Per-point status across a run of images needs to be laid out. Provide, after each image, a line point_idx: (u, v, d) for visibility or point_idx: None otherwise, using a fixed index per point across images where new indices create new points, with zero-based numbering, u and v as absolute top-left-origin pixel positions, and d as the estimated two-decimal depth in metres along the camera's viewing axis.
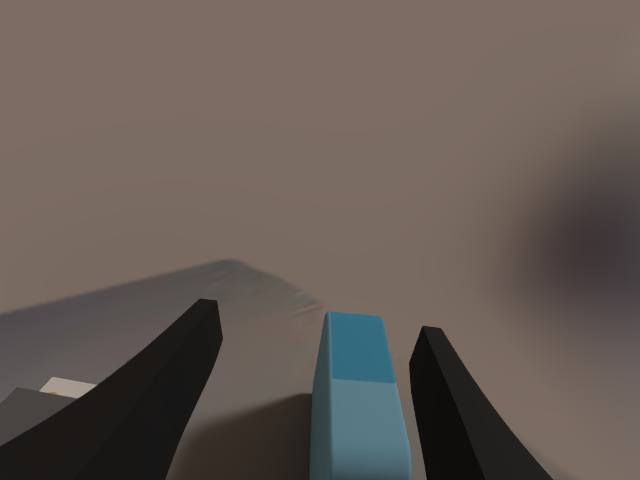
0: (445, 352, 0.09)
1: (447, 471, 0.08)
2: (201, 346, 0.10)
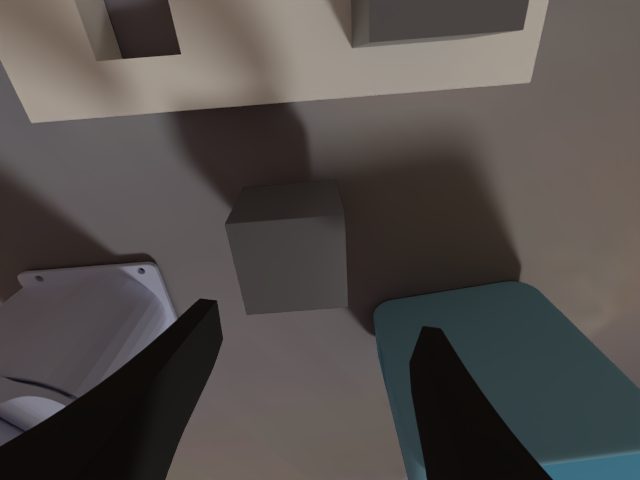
0: (445, 352, 0.09)
1: (448, 471, 0.08)
2: (201, 347, 0.10)
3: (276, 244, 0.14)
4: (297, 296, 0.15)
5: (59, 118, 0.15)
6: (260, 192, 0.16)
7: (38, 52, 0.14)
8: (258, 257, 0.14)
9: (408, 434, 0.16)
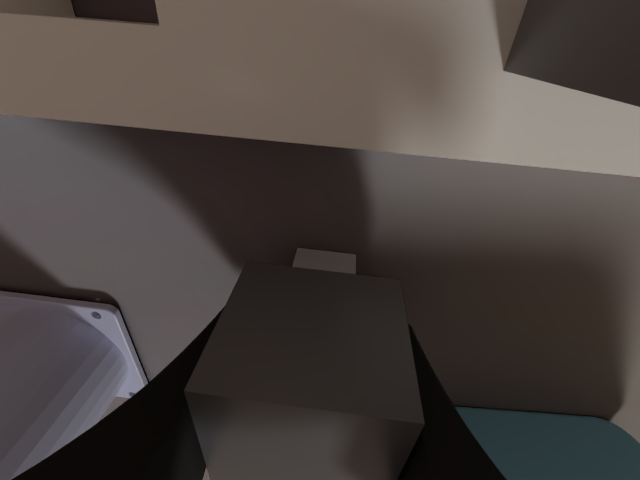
0: None
1: (406, 465, 0.08)
2: None
3: (278, 431, 0.07)
4: None
5: None
6: (271, 286, 0.09)
7: None
8: (241, 438, 0.08)
9: None
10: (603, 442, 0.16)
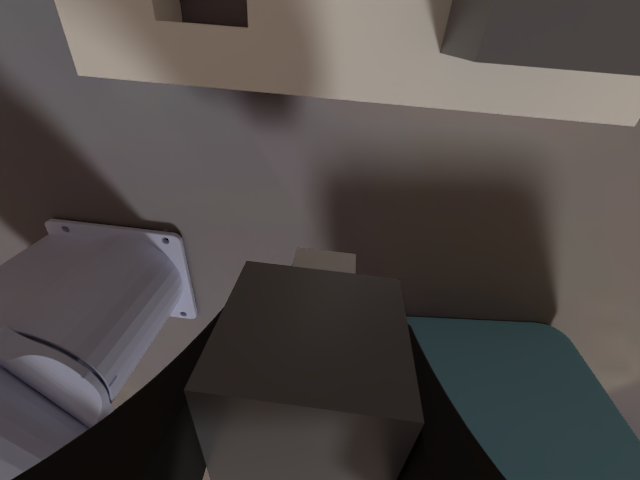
0: None
1: (405, 465, 0.08)
2: None
3: (277, 430, 0.07)
4: None
5: (107, 75, 0.14)
6: (270, 286, 0.09)
7: (95, 0, 0.13)
8: (241, 437, 0.08)
9: None
10: (541, 336, 0.21)
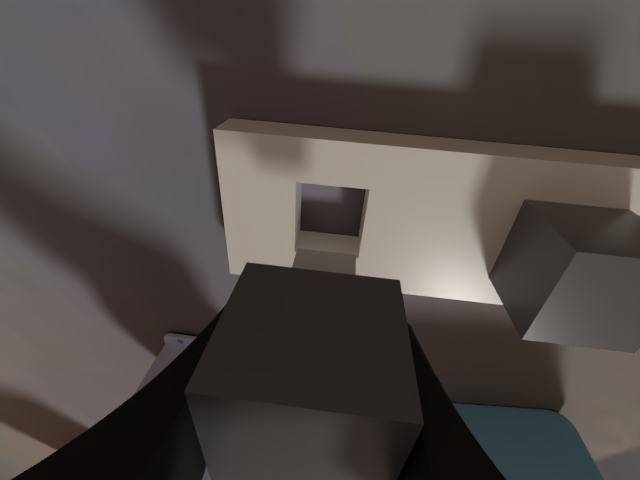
0: None
1: (406, 465, 0.08)
2: None
3: (278, 432, 0.07)
4: None
5: None
6: (270, 287, 0.09)
7: (255, 240, 0.19)
8: (242, 439, 0.08)
9: None
10: (552, 424, 0.27)
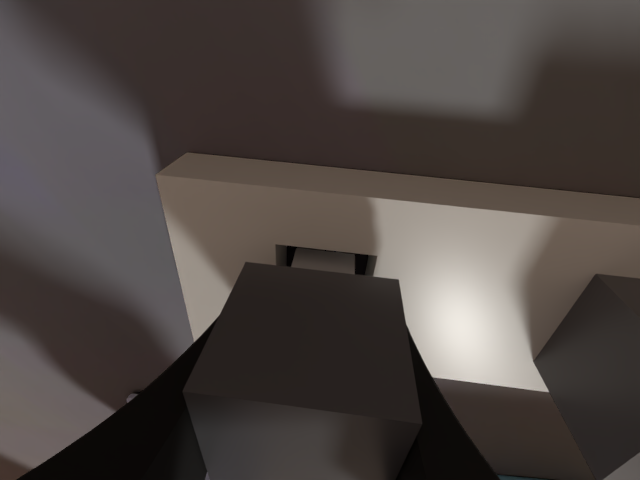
0: None
1: None
2: None
3: (276, 431, 0.07)
4: None
5: None
6: (269, 286, 0.09)
7: None
8: (240, 438, 0.08)
9: None
10: None
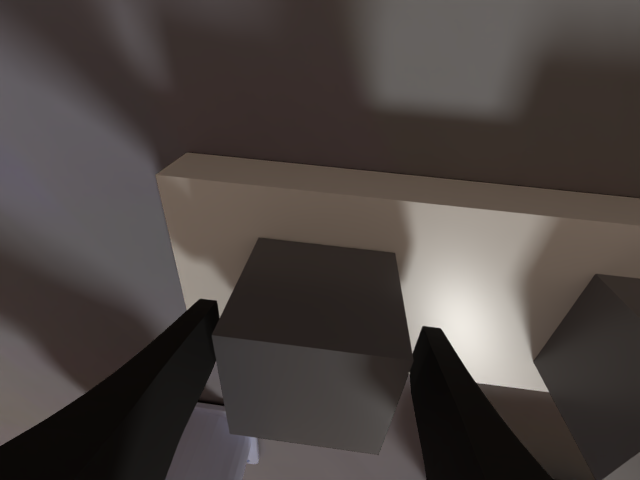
0: (445, 352, 0.09)
1: (448, 471, 0.08)
2: (202, 346, 0.10)
3: (289, 372, 0.08)
4: (307, 431, 0.10)
5: None
6: (281, 257, 0.11)
7: None
8: (258, 381, 0.09)
9: None
10: None
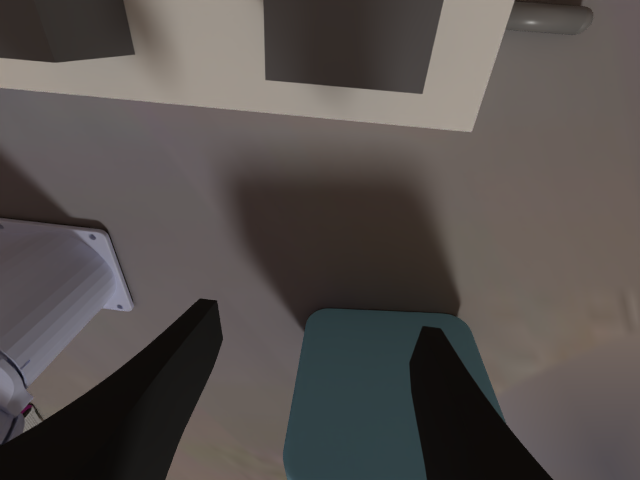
0: (445, 352, 0.09)
1: (448, 471, 0.08)
2: (202, 346, 0.10)
3: None
4: None
5: (7, 86, 0.16)
6: None
7: None
8: None
9: (287, 443, 0.17)
10: (443, 326, 0.23)
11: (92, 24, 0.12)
